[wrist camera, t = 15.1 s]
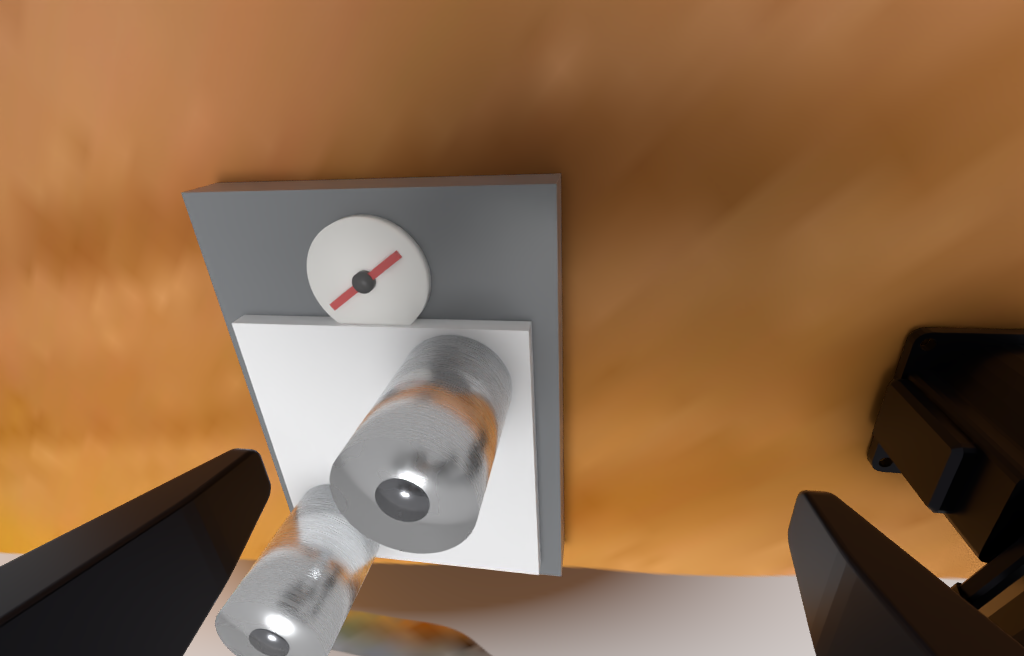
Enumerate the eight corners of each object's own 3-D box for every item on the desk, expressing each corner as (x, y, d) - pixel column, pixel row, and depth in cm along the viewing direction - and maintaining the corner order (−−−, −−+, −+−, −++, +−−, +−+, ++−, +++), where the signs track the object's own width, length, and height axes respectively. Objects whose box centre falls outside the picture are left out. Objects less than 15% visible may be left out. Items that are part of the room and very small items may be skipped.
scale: (560, 173, 18) (554, 189, 15) (564, 542, 26) (559, 593, 24) (217, 182, 20) (162, 197, 18) (321, 519, 29) (293, 562, 26)
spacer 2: (515, 433, 20) (483, 562, 15) (411, 426, 21) (345, 548, 15) (509, 336, 18) (469, 444, 13) (394, 333, 19) (312, 434, 13)
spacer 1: (379, 488, 23) (309, 614, 17) (392, 555, 25) (334, 687, 19) (291, 480, 23) (198, 598, 18) (311, 545, 25) (232, 670, 20)
